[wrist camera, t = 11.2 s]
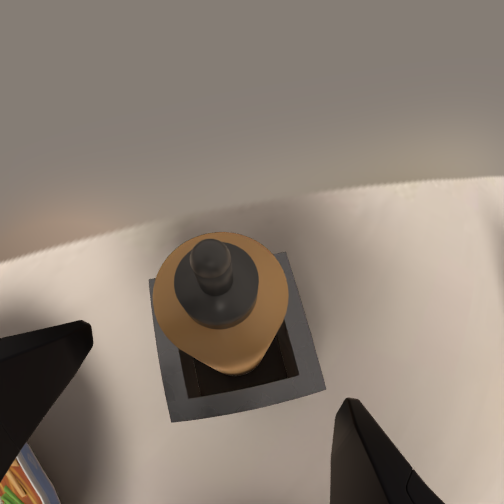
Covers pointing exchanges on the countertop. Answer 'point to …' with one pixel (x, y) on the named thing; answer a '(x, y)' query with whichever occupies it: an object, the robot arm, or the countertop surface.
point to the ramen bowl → (27, 482)
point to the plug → (221, 300)
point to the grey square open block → (295, 386)
